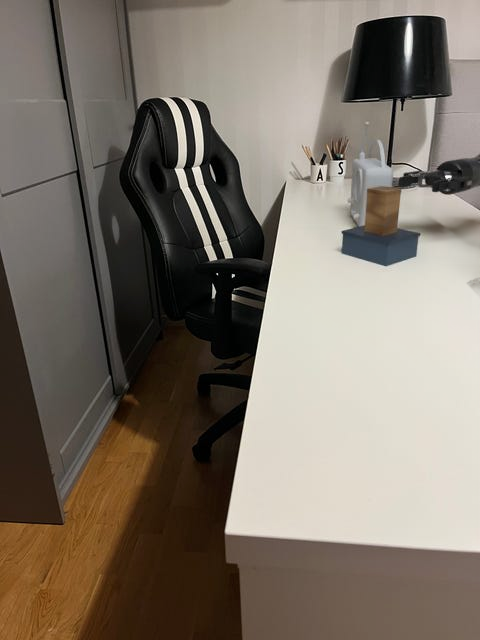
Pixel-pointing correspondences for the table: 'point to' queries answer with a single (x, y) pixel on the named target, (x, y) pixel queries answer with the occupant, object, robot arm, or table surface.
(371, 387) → the table surface
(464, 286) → the table surface
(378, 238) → the storage box
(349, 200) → the radio
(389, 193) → the brown wooden block
